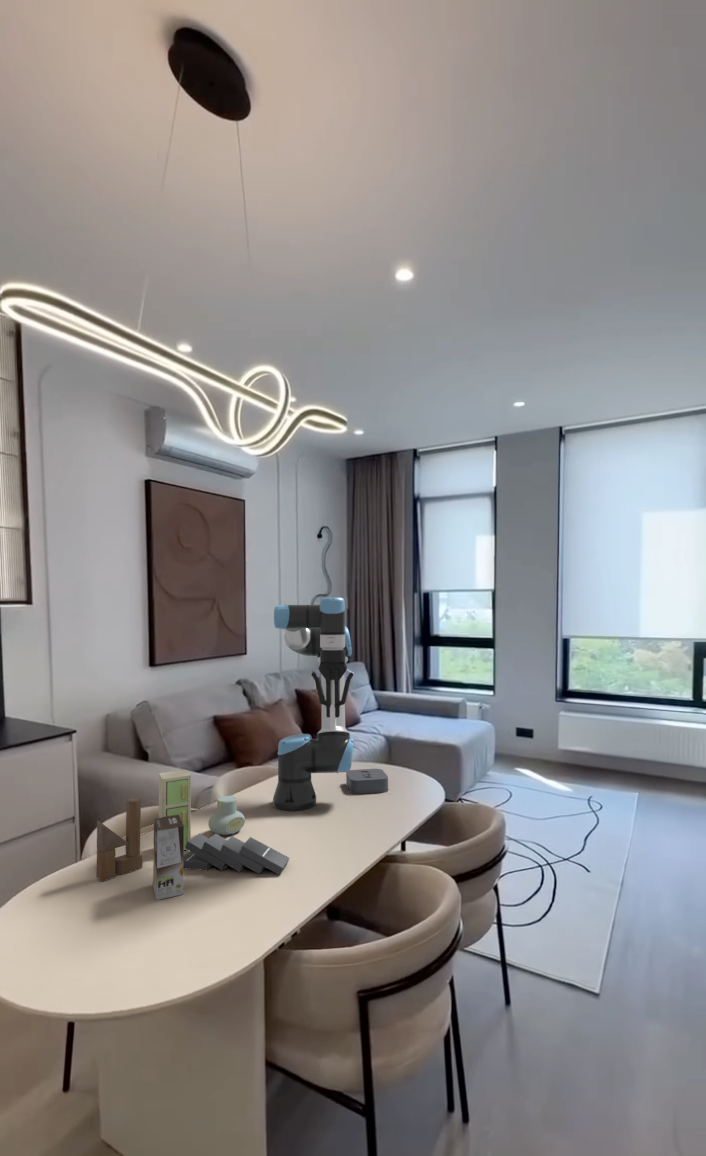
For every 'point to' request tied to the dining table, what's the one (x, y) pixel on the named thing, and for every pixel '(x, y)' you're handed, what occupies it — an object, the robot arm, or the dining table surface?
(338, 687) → the robot arm
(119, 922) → the dining table surface
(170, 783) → the toy refrigerator
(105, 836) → the brown angular blocky piece
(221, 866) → the domino
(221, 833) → the air freshener
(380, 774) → the streaming box
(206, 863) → the domino
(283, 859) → the domino
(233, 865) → the domino
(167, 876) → the coffee box
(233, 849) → the domino
